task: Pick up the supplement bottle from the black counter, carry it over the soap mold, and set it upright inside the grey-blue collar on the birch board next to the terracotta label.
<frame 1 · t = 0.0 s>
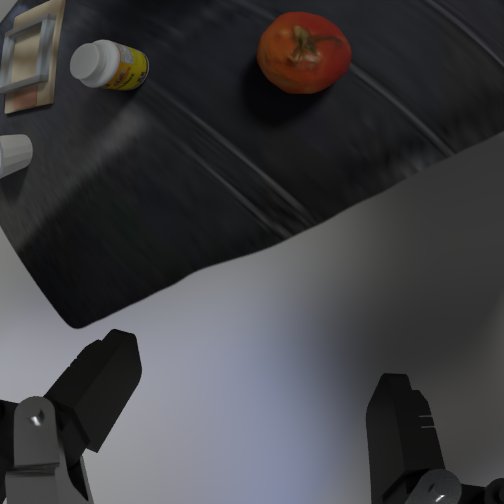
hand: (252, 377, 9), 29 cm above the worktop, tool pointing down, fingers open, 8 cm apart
holder: (33, 55, 33), on the worktop
shot glass: (23, 151, 40), on the worktop
supplement bottle: (132, 70, 33), on the worktop
tomato: (303, 61, 30), on the worktop
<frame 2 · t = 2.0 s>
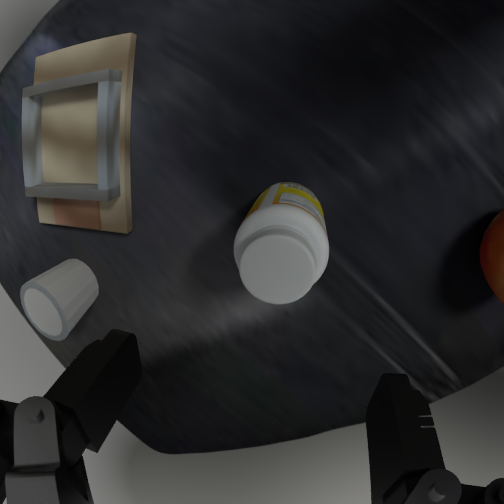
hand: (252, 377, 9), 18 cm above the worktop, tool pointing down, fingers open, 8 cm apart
holder: (78, 135, 25), on the worktop
shot glass: (80, 280, 32), on the worktop
supplement bottle: (288, 214, 26), on the worktop
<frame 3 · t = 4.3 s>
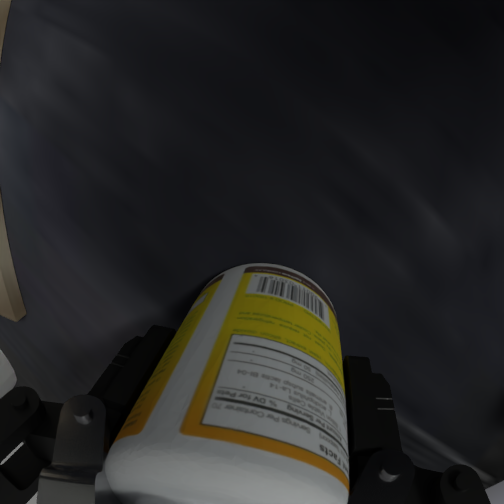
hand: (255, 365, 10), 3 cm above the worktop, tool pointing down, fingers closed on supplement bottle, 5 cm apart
supplement bottle: (267, 318, 12), on the worktop, touching gripper
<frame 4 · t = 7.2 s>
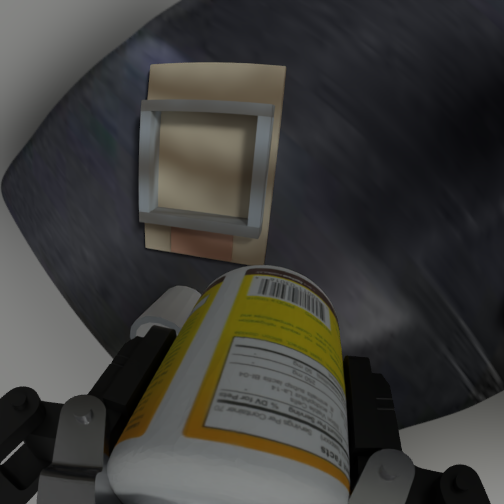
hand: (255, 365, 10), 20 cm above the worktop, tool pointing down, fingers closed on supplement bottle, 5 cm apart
holder: (208, 161, 28), on the worktop
shot glass: (186, 306, 35), on the worktop
supplement bottle: (268, 320, 13), point 17 cm above the worktop, touching gripper
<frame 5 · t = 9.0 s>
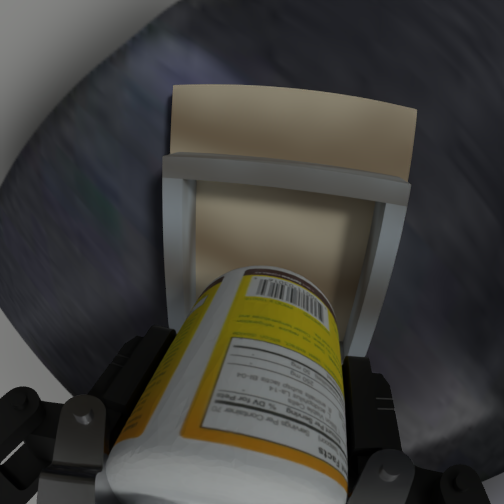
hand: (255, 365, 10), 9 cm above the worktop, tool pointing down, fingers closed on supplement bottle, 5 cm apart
holder: (278, 257, 18), on the worktop
supplement bottle: (267, 320, 13), point 6 cm above the worktop, touching gripper
when the fingers open (4 cm above the worktop, at t = 10.3 s): supplement bottle stays where it is, resting on holder.
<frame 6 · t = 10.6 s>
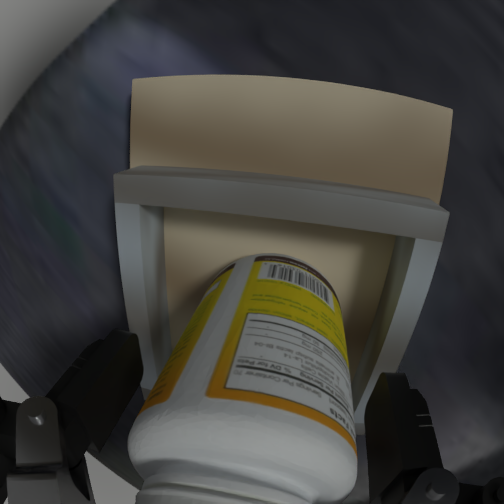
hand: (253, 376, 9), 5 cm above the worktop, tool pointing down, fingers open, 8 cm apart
holder: (271, 296, 14), on the worktop
supplement bottle: (274, 306, 13), point 1 cm above the worktop, touching holder
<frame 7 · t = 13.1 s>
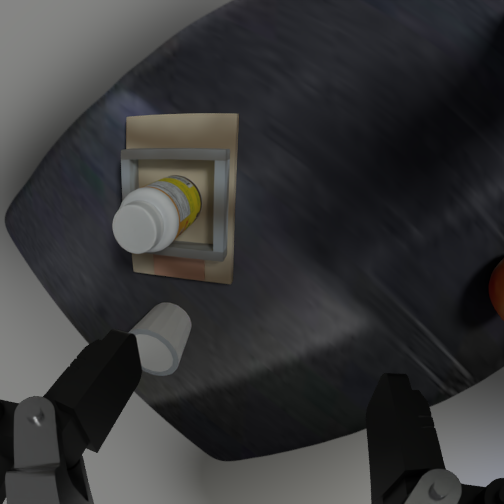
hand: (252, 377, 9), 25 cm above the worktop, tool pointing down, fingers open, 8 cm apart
holder: (180, 198, 33), on the worktop
shot glass: (171, 320, 40), on the worktop
supplement bottle: (179, 199, 33), point 1 cm above the worktop, touching holder
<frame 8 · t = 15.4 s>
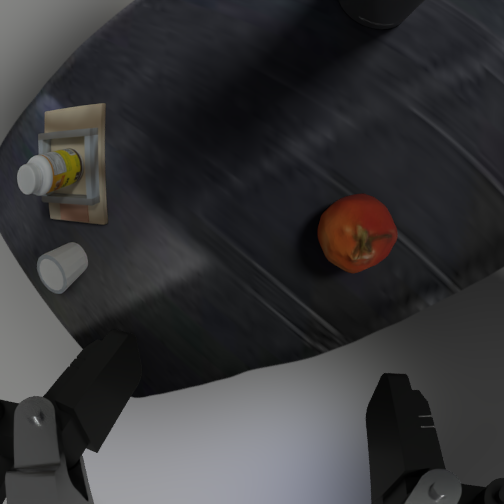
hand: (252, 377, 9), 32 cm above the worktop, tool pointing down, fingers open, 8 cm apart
holder: (75, 164, 42), on the worktop
shot glass: (76, 256, 49), on the worktop
supplement bottle: (73, 165, 42), point 1 cm above the worktop, touching holder
tomato: (352, 222, 40), on the worktop
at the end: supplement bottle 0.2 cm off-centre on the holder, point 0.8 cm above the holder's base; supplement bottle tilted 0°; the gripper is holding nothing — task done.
